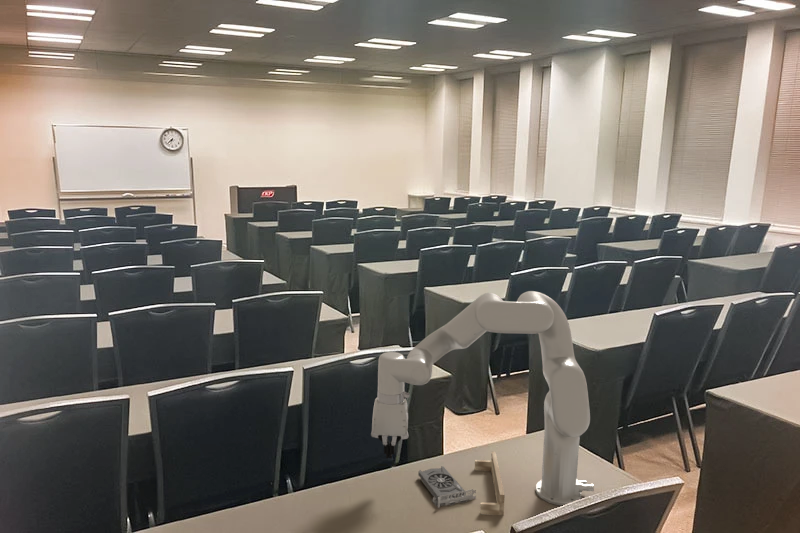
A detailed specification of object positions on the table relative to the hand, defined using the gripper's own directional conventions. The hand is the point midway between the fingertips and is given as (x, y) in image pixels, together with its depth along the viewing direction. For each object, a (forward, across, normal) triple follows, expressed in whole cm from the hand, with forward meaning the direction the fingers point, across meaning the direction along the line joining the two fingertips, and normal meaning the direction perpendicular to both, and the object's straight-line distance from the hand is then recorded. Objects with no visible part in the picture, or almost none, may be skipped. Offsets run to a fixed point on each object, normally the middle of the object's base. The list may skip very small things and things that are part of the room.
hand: (389, 456), depth 163 cm
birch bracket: (+9, -29, 0) cm, 30 cm away
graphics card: (+10, -17, 0) cm, 19 cm away
